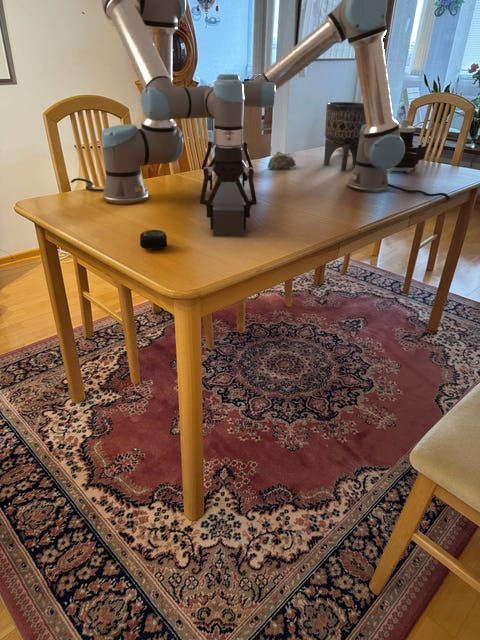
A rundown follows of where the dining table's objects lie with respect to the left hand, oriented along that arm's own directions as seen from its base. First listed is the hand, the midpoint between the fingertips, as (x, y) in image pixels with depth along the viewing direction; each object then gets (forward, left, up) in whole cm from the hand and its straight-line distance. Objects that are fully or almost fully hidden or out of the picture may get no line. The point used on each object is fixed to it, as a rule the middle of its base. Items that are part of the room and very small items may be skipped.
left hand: (228, 228), depth 131 cm
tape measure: (-4, -24, 0) cm, 24 cm away
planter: (-20, +102, 0) cm, 104 cm away
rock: (-38, +80, 0) cm, 88 cm away
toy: (-45, +56, 0) cm, 72 cm away
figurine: (-35, +132, 0) cm, 136 cm away
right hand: (-27, +30, +1) cm, 41 cm away
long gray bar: (-14, +15, 0) cm, 21 cm away
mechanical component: (+2, +120, 0) cm, 120 cm away
